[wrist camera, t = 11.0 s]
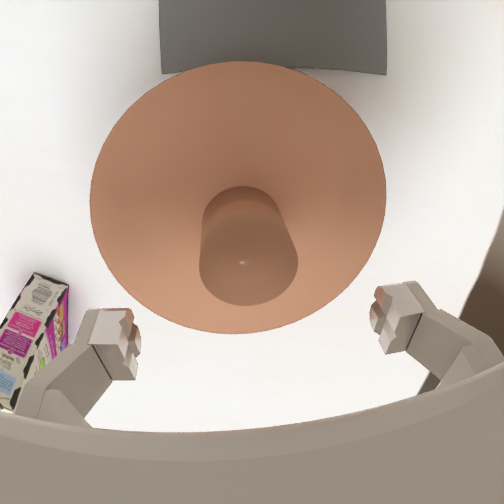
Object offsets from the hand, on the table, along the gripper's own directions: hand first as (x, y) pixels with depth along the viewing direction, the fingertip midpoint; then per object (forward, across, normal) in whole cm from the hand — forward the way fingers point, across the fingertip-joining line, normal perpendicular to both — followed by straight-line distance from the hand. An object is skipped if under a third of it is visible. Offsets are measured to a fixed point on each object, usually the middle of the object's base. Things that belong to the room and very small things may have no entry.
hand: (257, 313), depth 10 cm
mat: (+18, -4, -16) cm, 25 cm away
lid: (+8, 0, 0) cm, 8 cm away
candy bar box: (+18, +23, +16) cm, 33 cm away
